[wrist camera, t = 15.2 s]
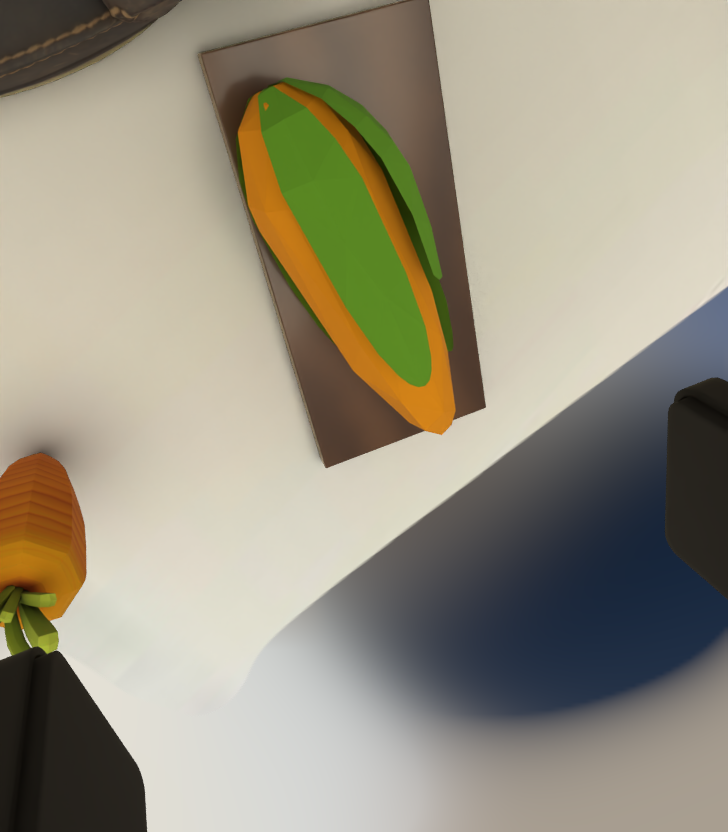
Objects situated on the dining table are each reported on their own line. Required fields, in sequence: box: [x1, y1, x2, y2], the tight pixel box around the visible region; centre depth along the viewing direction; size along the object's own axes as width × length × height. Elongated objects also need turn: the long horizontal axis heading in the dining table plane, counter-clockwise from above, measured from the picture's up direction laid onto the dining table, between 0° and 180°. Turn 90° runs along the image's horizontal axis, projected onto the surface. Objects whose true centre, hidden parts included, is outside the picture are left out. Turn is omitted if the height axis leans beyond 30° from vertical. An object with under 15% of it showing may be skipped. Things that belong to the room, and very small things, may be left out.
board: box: [198, 0, 486, 468], centre depth 37 cm, size 11×23×1 cm, turn 12°
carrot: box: [0, 453, 86, 655], centre depth 30 cm, size 5×5×15 cm
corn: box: [236, 77, 456, 435], centre depth 33 cm, size 7×8×20 cm
